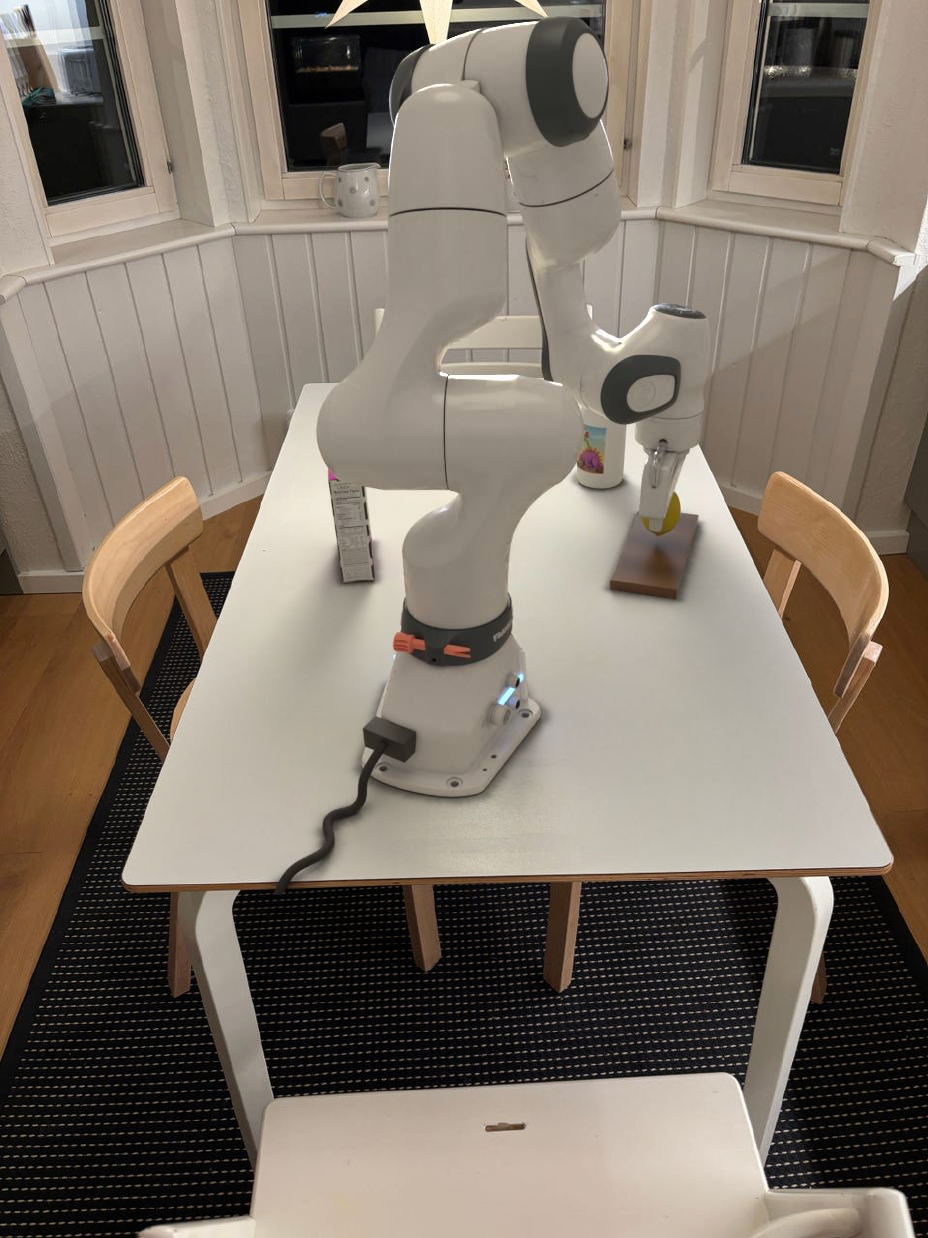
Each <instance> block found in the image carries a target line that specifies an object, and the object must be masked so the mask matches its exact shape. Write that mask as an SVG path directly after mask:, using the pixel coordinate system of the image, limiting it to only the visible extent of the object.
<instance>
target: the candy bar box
mask: <svg viewBox="0 0 928 1238" xmlns="http://www.w3.org/2000/svg"><path fill="white" fill-rule="evenodd" d="M327 482H328V489H329V495H330V504H331V511H332V519H333V524H334V530H335V531H334V532H335V539H336V546H337V552H338V561H339V568H340V575H341V581H342V583H343V584H348V583H350V584H352V583H359V582H360V583H361V582H367V581H376V573H375V572H376V571H375V559H374V557H375V556H374V546H373V536H372V529H371V521H370V512H369V511H370V510H369V501H368V493H367V487H364V486H359V485H355V484H351V483H346V482H342V481H339V480H338V479H337V478H336V477H335V476H334V475H333V474H332V472H331V471H330V470H329V469H328V468H327Z"/></svg>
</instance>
